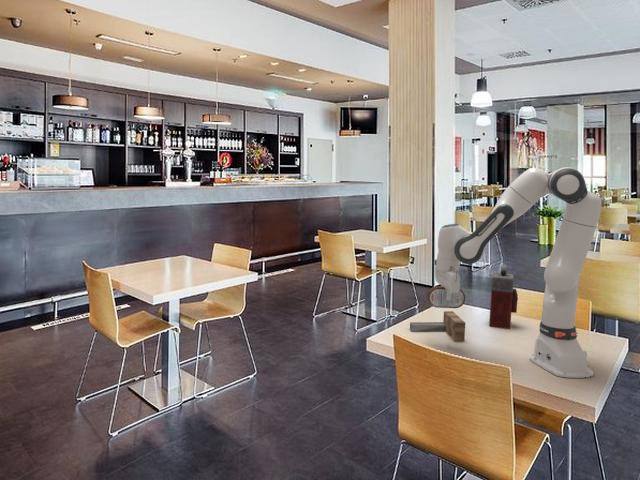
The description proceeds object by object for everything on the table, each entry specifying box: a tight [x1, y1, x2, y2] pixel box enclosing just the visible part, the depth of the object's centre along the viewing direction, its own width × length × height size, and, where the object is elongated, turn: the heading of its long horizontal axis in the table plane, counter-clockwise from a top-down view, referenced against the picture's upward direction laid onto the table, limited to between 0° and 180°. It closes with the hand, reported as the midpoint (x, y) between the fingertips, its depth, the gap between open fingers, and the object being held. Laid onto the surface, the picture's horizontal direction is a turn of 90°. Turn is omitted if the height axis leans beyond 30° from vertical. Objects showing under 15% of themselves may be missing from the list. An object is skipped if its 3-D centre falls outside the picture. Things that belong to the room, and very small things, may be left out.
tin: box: [426, 285, 466, 309], centre depth 195 cm, size 15×3×8 cm, turn 88°
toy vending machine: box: [488, 264, 519, 330], centre depth 220 cm, size 9×11×28 cm
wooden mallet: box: [409, 310, 466, 342], centre depth 208 cm, size 16×19×8 cm
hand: (446, 298), depth 195 cm, fingers closed on tin, 3 cm apart
